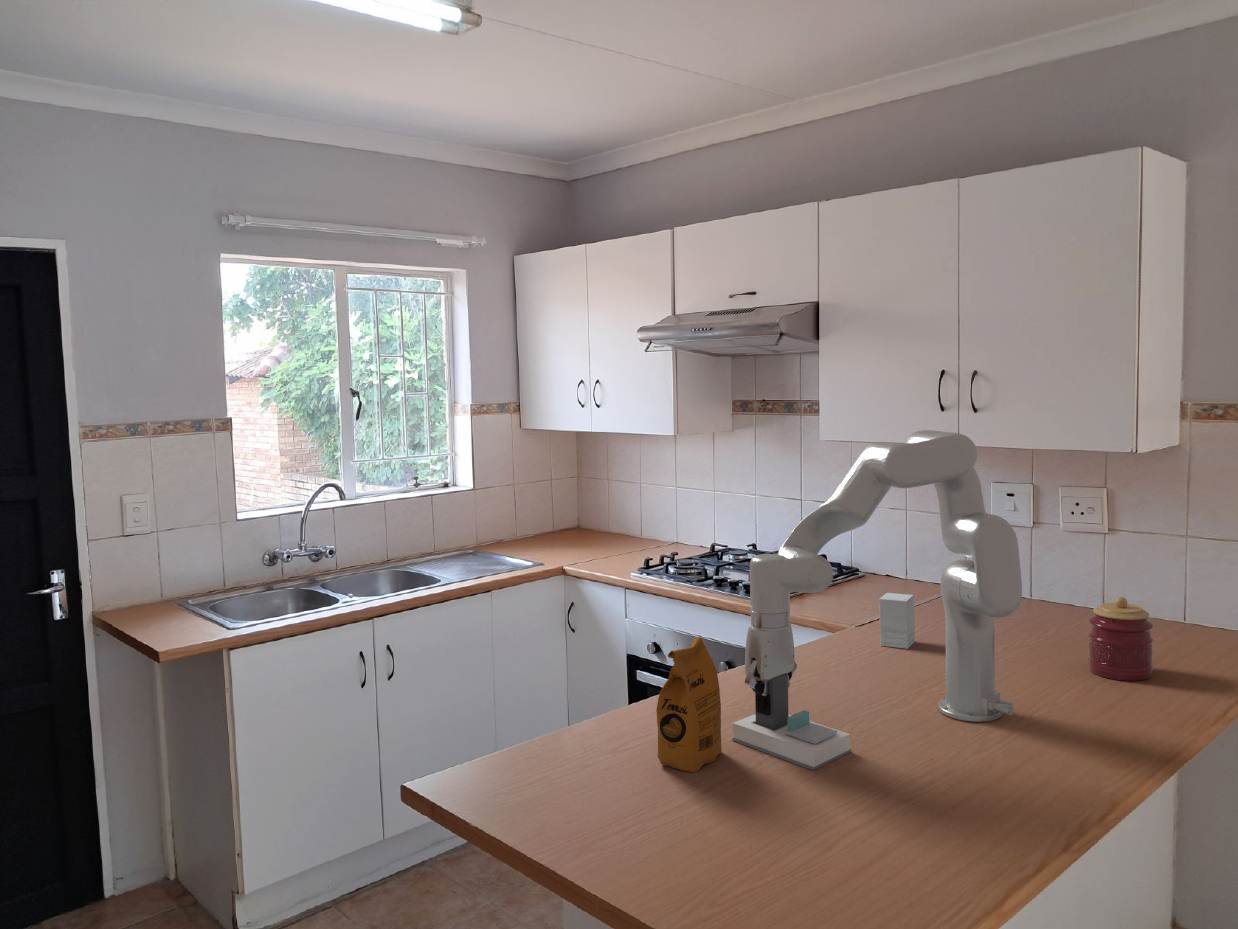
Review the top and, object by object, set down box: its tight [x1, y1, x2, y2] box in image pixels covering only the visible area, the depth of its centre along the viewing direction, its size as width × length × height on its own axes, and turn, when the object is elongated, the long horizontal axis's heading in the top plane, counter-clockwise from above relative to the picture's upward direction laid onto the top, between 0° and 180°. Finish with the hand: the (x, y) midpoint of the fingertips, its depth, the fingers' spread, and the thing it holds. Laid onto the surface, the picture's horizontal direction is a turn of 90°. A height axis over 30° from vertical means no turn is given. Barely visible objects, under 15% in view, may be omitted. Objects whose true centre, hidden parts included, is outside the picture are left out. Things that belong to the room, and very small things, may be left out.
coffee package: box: [655, 636, 722, 773], centre depth 171 cm, size 10×12×22 cm
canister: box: [1087, 596, 1155, 682], centre depth 209 cm, size 13×13×18 cm
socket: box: [731, 713, 852, 771], centre depth 176 cm, size 20×12×4 cm, turn 41°
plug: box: [754, 673, 790, 730], centre depth 179 cm, size 4×4×12 cm
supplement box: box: [878, 592, 916, 650], centre depth 238 cm, size 7×7×13 cm
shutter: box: [785, 709, 837, 744], centre depth 172 cm, size 7×7×3 cm
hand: (772, 709), depth 179 cm, fingers closed on plug, 4 cm apart
